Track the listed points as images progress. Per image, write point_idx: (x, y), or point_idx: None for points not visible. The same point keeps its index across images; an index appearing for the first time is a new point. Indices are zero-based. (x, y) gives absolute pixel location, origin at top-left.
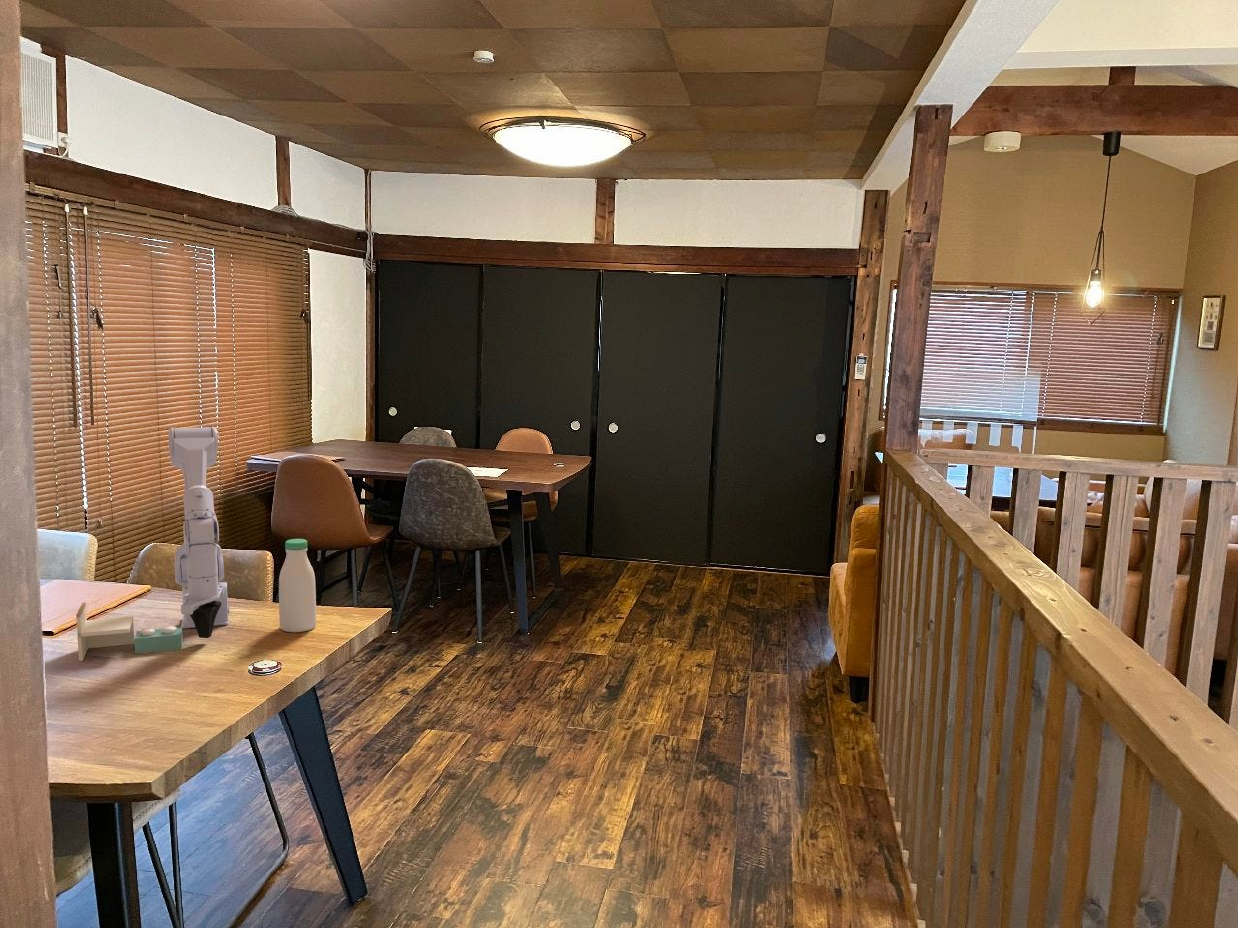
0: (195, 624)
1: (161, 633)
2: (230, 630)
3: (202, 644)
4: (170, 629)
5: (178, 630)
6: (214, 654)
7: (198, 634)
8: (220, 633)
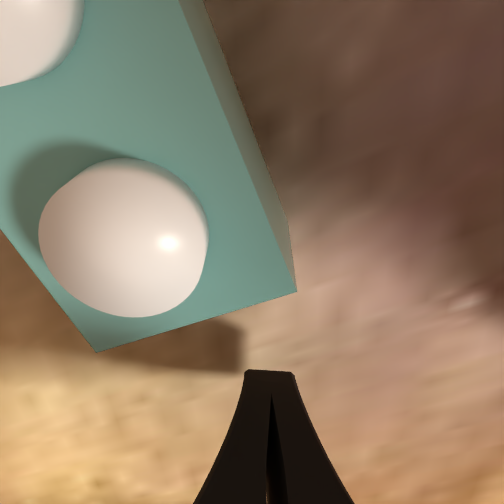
0: (213, 466)
1: (60, 165)
2: (498, 409)
3: (236, 356)
4: (86, 279)
5: (196, 294)
6: (93, 447)
7: (243, 387)
8: (447, 380)
